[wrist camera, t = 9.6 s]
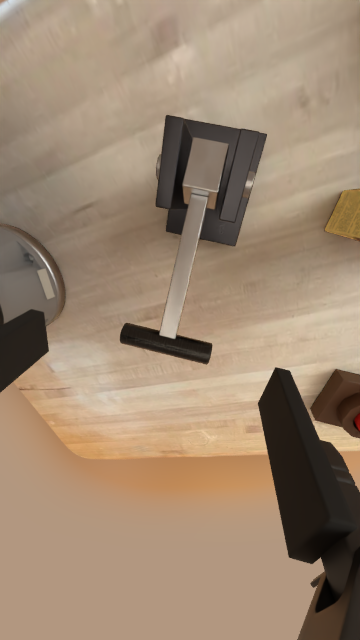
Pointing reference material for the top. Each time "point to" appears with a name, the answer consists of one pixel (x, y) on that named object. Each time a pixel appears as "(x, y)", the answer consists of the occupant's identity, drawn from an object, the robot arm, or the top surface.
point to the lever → (186, 255)
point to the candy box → (346, 215)
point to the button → (357, 421)
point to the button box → (339, 402)
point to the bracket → (235, 181)
